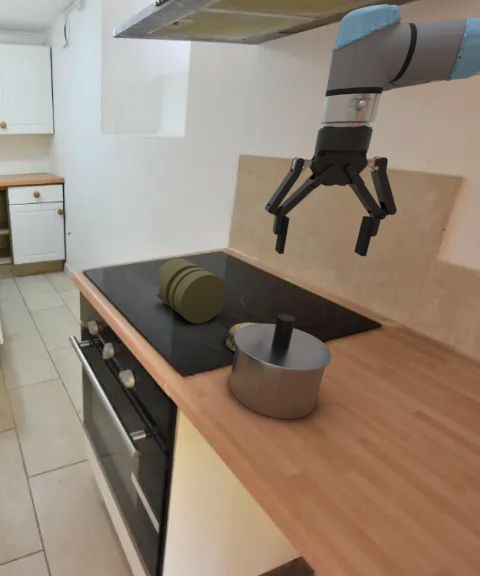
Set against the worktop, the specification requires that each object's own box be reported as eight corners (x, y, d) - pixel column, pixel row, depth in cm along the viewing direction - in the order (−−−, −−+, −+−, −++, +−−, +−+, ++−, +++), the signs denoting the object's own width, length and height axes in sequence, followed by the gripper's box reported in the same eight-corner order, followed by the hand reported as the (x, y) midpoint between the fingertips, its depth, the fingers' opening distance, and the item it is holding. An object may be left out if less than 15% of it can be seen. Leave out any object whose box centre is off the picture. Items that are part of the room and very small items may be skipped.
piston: (192, 298, 95) (196, 255, 91) (222, 319, 85) (229, 271, 81) (152, 305, 92) (155, 260, 88) (178, 327, 81) (183, 278, 77)
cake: (215, 348, 74) (216, 323, 73) (241, 332, 81) (243, 309, 79) (264, 366, 67) (267, 339, 65) (289, 347, 73) (293, 322, 72)
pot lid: (311, 332, 63) (318, 302, 61) (345, 380, 51) (356, 344, 49) (227, 326, 65) (231, 296, 63) (241, 371, 53) (247, 336, 51)
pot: (299, 373, 66) (309, 330, 62) (326, 423, 54) (341, 374, 51) (225, 367, 68) (231, 324, 64) (236, 414, 56) (245, 365, 53)
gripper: (269, 127, 59) (251, 257, 67) (450, 123, 55) (407, 261, 63) (258, 127, 66) (242, 245, 74) (418, 124, 62) (383, 248, 70)
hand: (318, 253), depth 69 cm, fingers open, 13 cm apart
